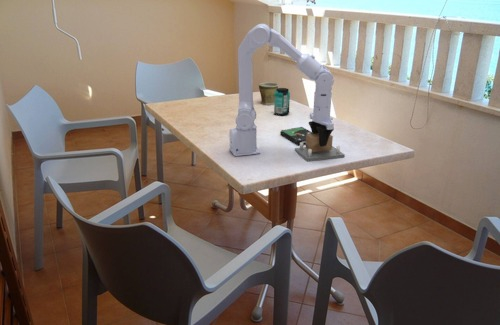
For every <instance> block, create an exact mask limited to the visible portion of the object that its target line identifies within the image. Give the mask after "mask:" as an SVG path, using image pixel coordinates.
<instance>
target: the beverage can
mask: <svg viewBox="0 0 500 325" xmlns="http://www.w3.org/2000/svg"><path fill="white" fill-rule="evenodd" d="M290 97H291V92H290V91H289V88H286V87H278V88H277V89H276V92H275V103H274V104H273V106H274V107H273V108H274V110H273V111H274V112H273V113H274V114H275V115H276V116H279V117H284V116H288V114H290V100H291V98H290Z"/></svg>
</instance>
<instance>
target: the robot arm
mask: <svg viewBox="0 0 500 325" xmlns="http://www.w3.org/2000/svg"><path fill="white" fill-rule="evenodd" d="M267 44H268V47H274V48H277V49H279V50H281V51H282V52H283V53H285V54H286V55H287V56H288V57H290V58H291V59H292V60H293V61H295V62H296V68H297V69H298V70H299V71H300V72H301V73H303V74H304V75H305V76H306V77H307V78H309V79H310V81H314V83H315V90H314V94H313V96H314V97H313V112H310V114H309V119H310V120H312V121H308V126H309V127H310V129H311V132H312V134H317V133H319V144H320V146H326V144H327V142H328V139H329V136H330V135H332V132H333V131H334V129H335V128H334V123H333V122H332V121H333V119H334V117H332V116H331V107H332V106H331V105H332V94H333V93H332V89H333V87H332V86H333V85H334V82H335V80H334V77H333V74H332V72H331V71H330V70H329V69H328V68H327V67H326V65H324V64H323V65H322V64H321V63H320V62H319V61H317V59H316V57H315V55H313V54H309V53H302V52H301V51H300V50H299V49H298V48H296V46H294V44H292V43H291V42H290V41H289V40H287V38H286V37H284V36H283V35H282V34H281V33H280V32H278V31H276V30H275V29H274V28H271V27H270V26H269V25H268V24H267V23H259V24H257V25H255V26H254V27H253V28H251V29H250V30H249V31H248V32H247V33H246V35H245V37H244V38H243V39H242V41H241V43H240V44H239V46H238V48H237V60H238V61H237V62H238V64H237V65H238V106H237V108H238V110H237V113H238V114H237V116H236V117H235V124H236V126H235V128H231V129H230V130H229V136H228V137H229V149H228V150H230V153H231V154H232V155H233V156H234V157H241V156H250V155H259V154H261V152H260V151H259V149H258V148H257V125H256V124H255V121H256V119H257V111H256V110H255V104H254V94H253V93H254V89H253V87H254V86H253V83H254V82H253V80H254V79H253V78H254V76H253V73H254V71H253V54H254V53H255V52H256V51H257V50H258V49H259V48H261V47H264V46H266V45H267Z"/></svg>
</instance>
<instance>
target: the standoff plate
mask: <svg viewBox="0 0 500 325" xmlns="http://www.w3.org/2000/svg"><path fill="white" fill-rule="evenodd" d="M340 150H341V146H340V145H336V147H335V146H333V145H332V150H326V151H317V152H312V149H308V150H307V149H306V146H304V145H303V142H300V146H299V147H296V148H294V151H295V153H297V154H298V155H299V156H300V157H301V158H303V159H304V160H305V161H306V162H314V161H315V162H316V161H323V160H333V159H340V158H345V156H346V154H344V153H343V152H342V151H340Z"/></svg>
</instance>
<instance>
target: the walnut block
mask: <svg viewBox="0 0 500 325" xmlns="http://www.w3.org/2000/svg"><path fill="white" fill-rule="evenodd" d="M333 137H334V136H333V135H332V134H330V136H329V139H328V142H327V144H326V146H320V144H319V133H317V134H307V135H306V145H305V147H306V149H307V150H308V149H312V152H317V151H326V150H332V146H333V139H334V138H333Z"/></svg>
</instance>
